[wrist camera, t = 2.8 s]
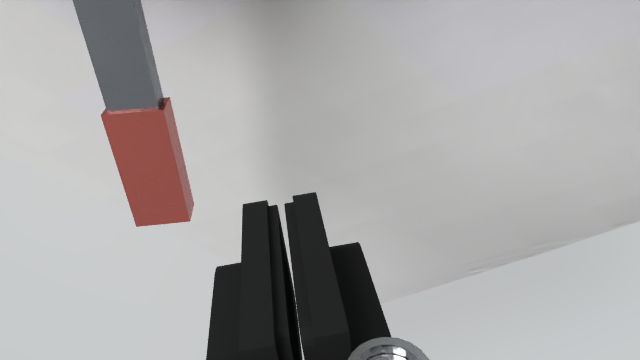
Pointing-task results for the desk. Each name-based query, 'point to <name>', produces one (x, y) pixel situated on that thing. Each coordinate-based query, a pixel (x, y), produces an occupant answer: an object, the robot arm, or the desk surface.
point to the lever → (136, 111)
